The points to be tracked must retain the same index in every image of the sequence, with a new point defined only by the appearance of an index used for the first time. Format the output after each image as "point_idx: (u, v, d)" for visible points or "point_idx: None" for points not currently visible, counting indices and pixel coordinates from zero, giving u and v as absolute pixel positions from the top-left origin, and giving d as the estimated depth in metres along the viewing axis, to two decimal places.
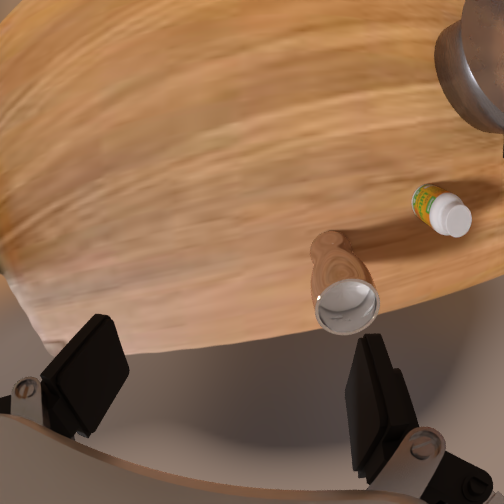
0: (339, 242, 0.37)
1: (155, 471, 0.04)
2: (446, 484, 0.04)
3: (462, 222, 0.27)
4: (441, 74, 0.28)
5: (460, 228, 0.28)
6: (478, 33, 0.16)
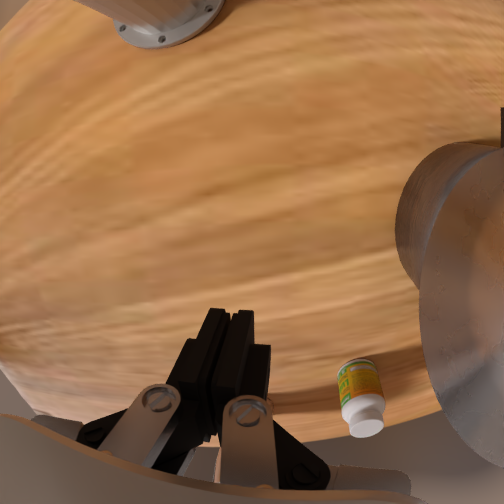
0: None
1: (155, 471, 0.04)
2: None
3: (371, 429, 0.26)
4: (399, 243, 0.27)
5: (368, 432, 0.27)
6: (452, 262, 0.15)
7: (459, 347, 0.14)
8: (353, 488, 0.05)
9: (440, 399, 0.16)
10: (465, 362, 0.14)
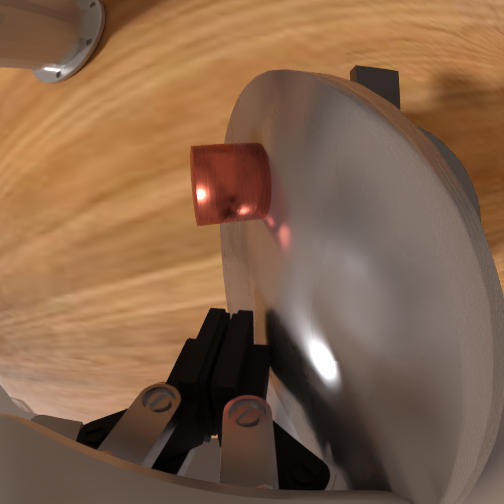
0: None
1: (155, 471, 0.04)
2: None
3: None
4: None
5: None
6: (228, 255, 0.17)
7: None
8: None
9: None
10: None
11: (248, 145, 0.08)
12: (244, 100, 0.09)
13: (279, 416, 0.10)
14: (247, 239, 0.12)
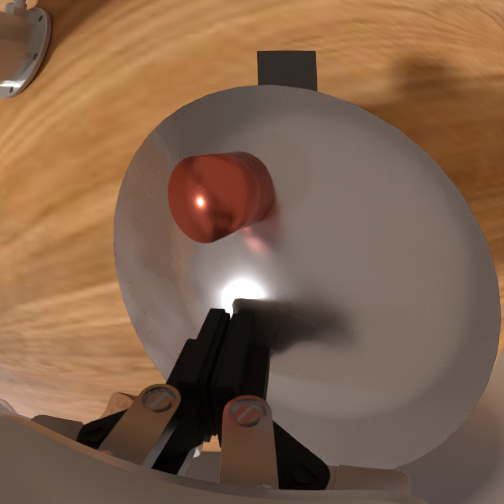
0: (116, 411, 0.35)
1: (155, 471, 0.04)
2: None
3: None
4: None
5: None
6: (141, 281, 0.15)
7: None
8: (352, 488, 0.05)
9: None
10: None
11: (242, 154, 0.08)
12: (202, 109, 0.09)
13: (292, 399, 0.11)
14: (205, 252, 0.11)
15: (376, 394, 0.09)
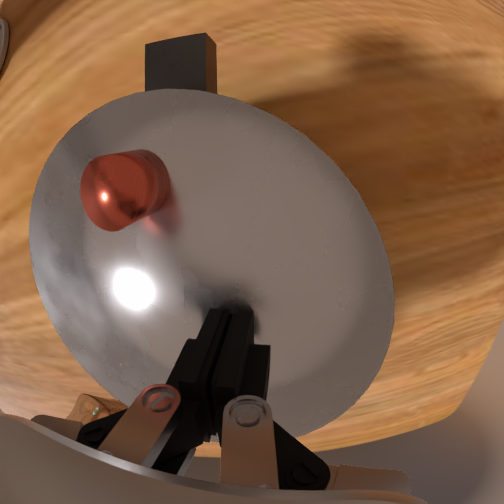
0: (81, 412, 0.33)
1: (155, 471, 0.04)
2: None
3: None
4: None
5: None
6: (59, 285, 0.13)
7: (119, 366, 0.14)
8: (353, 489, 0.05)
9: None
10: (135, 377, 0.14)
11: (141, 151, 0.09)
12: (105, 115, 0.09)
13: None
14: (114, 245, 0.11)
15: (291, 350, 0.11)
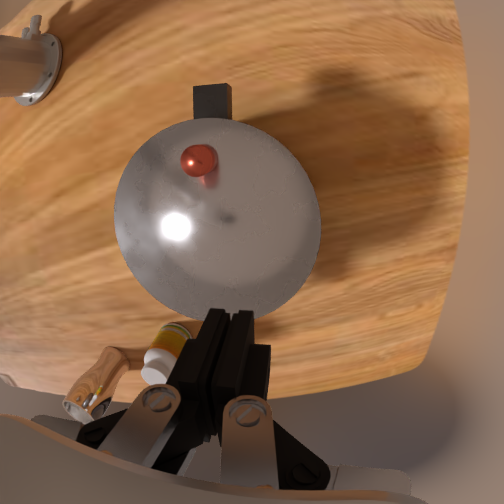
0: (106, 360, 0.45)
1: (155, 471, 0.04)
2: None
3: (157, 379, 0.35)
4: None
5: (157, 382, 0.35)
6: (137, 220, 0.25)
7: (171, 270, 0.27)
8: (353, 488, 0.05)
9: (182, 312, 0.28)
10: (181, 276, 0.27)
11: (206, 144, 0.21)
12: (184, 126, 0.21)
13: (234, 258, 0.25)
14: (184, 190, 0.23)
15: (273, 237, 0.24)
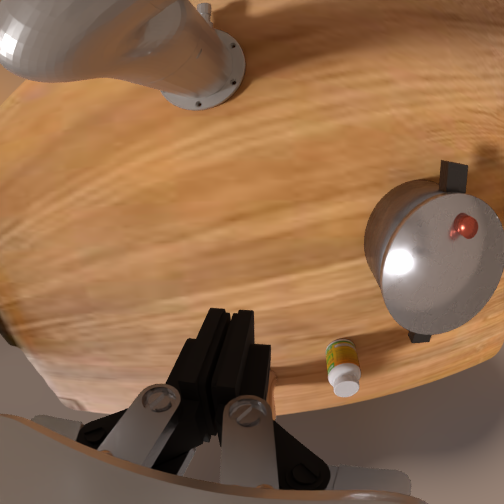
0: None
1: (155, 471, 0.04)
2: None
3: (349, 389, 0.40)
4: (366, 254, 0.40)
5: (347, 392, 0.40)
6: (406, 263, 0.30)
7: (418, 300, 0.31)
8: (353, 488, 0.05)
9: (413, 330, 0.33)
10: (424, 303, 0.31)
11: (467, 214, 0.26)
12: (455, 198, 0.26)
13: (460, 288, 0.30)
14: (446, 243, 0.28)
15: (482, 275, 0.28)
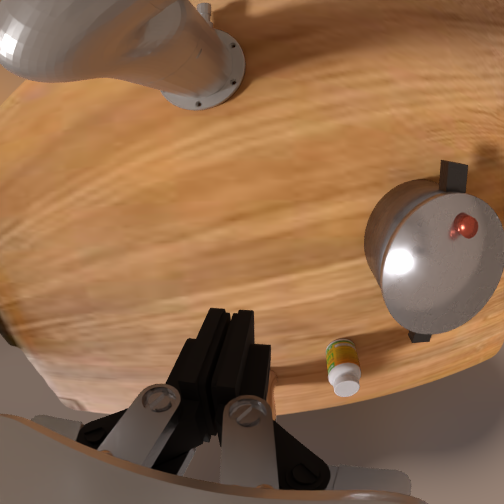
0: None
1: (155, 471, 0.04)
2: None
3: (349, 389, 0.40)
4: (366, 253, 0.40)
5: (348, 392, 0.40)
6: (406, 263, 0.30)
7: (418, 299, 0.31)
8: (353, 488, 0.05)
9: (413, 329, 0.33)
10: (424, 303, 0.31)
11: (467, 214, 0.26)
12: (455, 197, 0.26)
13: (460, 288, 0.30)
14: (446, 242, 0.28)
15: (482, 274, 0.28)
